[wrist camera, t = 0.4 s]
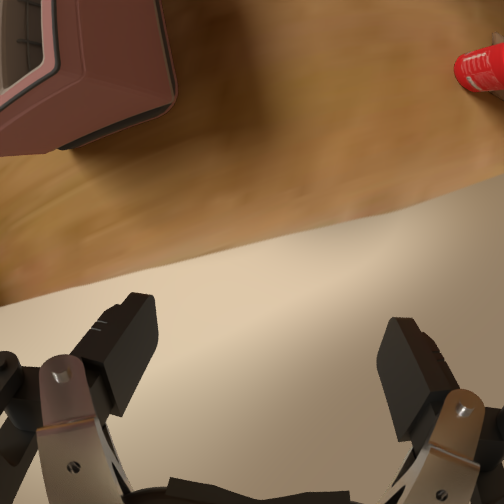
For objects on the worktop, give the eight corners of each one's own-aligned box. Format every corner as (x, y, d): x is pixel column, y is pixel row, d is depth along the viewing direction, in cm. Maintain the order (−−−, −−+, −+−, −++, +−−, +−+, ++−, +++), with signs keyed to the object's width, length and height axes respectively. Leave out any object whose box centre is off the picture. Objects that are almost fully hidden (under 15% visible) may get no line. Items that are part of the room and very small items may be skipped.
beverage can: (444, 65, 28) (498, 49, 17) (466, 49, 26) (520, 33, 15) (466, 99, 29) (524, 96, 18) (486, 82, 27) (544, 77, 16)
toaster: (149, -80, 22) (88, -149, 3) (185, 109, 33) (89, 93, 15) (45, -25, 25) (-38, -55, 6) (63, 155, 36) (-52, 186, 17)
